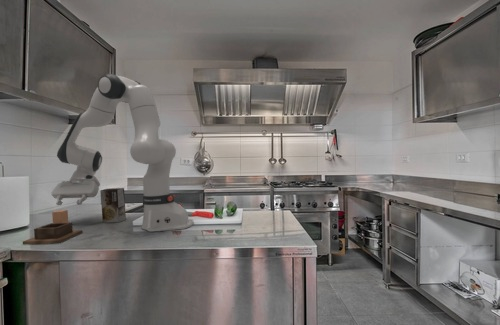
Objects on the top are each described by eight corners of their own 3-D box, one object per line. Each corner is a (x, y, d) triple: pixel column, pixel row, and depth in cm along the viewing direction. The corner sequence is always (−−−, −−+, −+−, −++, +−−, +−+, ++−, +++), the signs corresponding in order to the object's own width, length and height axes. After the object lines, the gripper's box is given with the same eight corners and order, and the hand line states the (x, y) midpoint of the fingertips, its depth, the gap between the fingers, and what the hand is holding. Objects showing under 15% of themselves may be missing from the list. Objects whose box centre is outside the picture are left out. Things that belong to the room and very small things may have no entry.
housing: (82, 232, 118) (81, 220, 118) (59, 243, 104) (58, 229, 104) (50, 234, 119) (49, 222, 118) (22, 244, 105) (21, 231, 104)
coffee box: (126, 219, 142) (124, 187, 142) (119, 222, 136) (117, 189, 135) (109, 219, 143) (107, 188, 142) (101, 222, 137) (99, 189, 136)
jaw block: (68, 230, 124) (67, 210, 124) (62, 232, 120) (61, 211, 120) (59, 230, 125) (58, 210, 124) (53, 232, 121) (52, 212, 120)
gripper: (56, 177, 135) (42, 201, 126) (98, 176, 135) (87, 199, 126) (63, 185, 140) (50, 208, 131) (103, 184, 140) (93, 207, 130)
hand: (68, 204), depth 128 cm, fingers open, 8 cm apart
